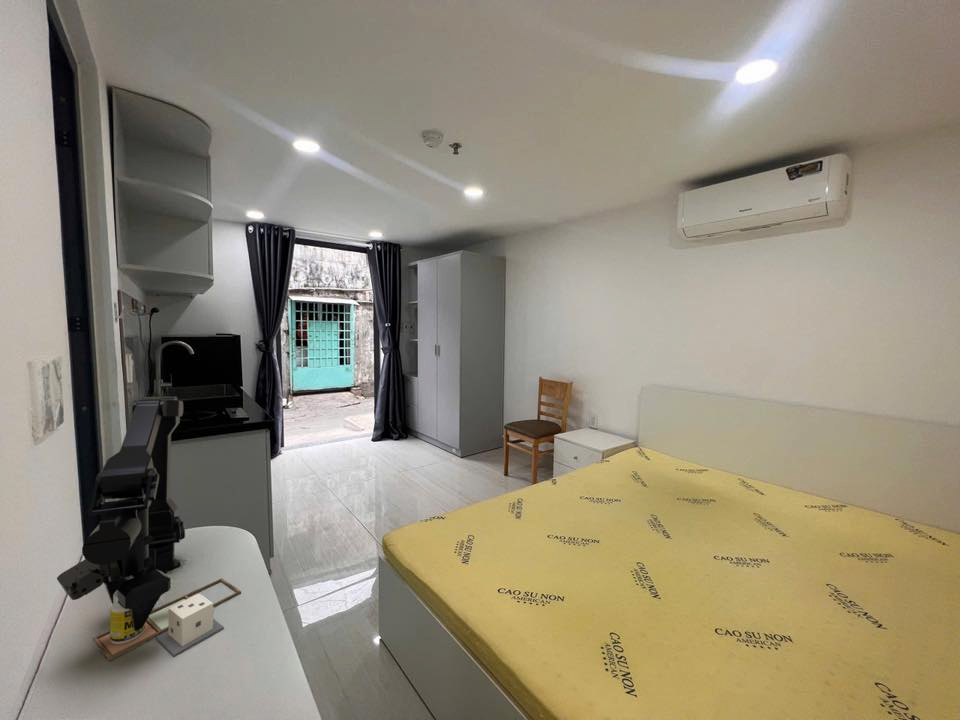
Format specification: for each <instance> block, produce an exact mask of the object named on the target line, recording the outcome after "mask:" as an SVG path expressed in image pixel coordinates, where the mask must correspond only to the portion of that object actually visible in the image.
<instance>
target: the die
mask: <svg viewBox="0 0 960 720" xmlns="http://www.w3.org/2000/svg"><path fill="white" fill-rule="evenodd" d="M213 604H214V602H213V601H212V600H209V599H208V598H206V597H205V596H204V595H202V594H201V593H196V594H194V595H192V596H190V597H189V598H188V599H186V600H184V601H182V602H180V603H178V604H176V605H174V606H172V607H170V608H169V635H170V636H171V637H172V638H173V639H174V640H176V641H177V642H178V643H179V644H180V645H181V646H184V645H186V644H187V643H189V642H191V641H193V640H194V639H196V638H198V637H200V636H201V635H203V634H205V633H207V632H208V631H210V630H212V629H213V619H214V608H213Z"/></svg>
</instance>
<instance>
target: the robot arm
mask: <svg viewBox="0 0 960 720" xmlns="http://www.w3.org/2000/svg"><path fill="white" fill-rule="evenodd" d="M183 414H184V402H183V400H180V399H178V397H177V396H144V397H141V398H139V399H135V400H133V401H131V408H130V421H129V424H128V427H127V430H126V432H125V435H124V438H123V441H122V443H121V444H122V445H121V446H120V449H119V451H118V452H117V453H115V454H114V455H112V456H110V457H109V458H108V459H107V460H105V464H104V465H103V468H102V469H101V472H99V473H98V474H97V475H96V477H95V480H94V485H93V490H92V494H91V498H90V504H89V506H88V513H87V515H88V517H92V516H97V515H98V516H99V515H100V519H99V520H100V521H99V523H98V525H97V526H96V527H95V528H94V530H93V531H92V532H91V533H90V534H89V536H88V537H87V538H86V539H85V541H84V543H83V545H82V549H81V553H82V556H83V558H84V560H81V561H80V562H78V563H77V564H75V565H73V566H71V567H70V568H68V569H66V570H65V571H63V572H62V573H60V574H59V575H58V576H57V577H56V580H57V582H58V583H59V585H60V586H61V588H62V589H63V590H64V592H65V593H66V594H67V595H68V597H69V598H70V599H71V600H72V601H76V600H79V599H81V598H83V597H84V596H87V595H88V594H90V593H92V592H93V591H95V590H97V588H99V587H101V586H102V585H103V584H104V586H105V589H106V592H107V595H108V597H109V600H110V602H111V605H112V604H113V595H114V593H115V592H116V591H117V597H118V600H119V601H118V603H119V604H120V605H121V606H122V607H123V608H124V609H129V611H130V615H131V620H132V624H133V627H134V630H135V631H137V630H139V629H141V628H143V626H144V624H145V623H147V622H146V621H147V619H148V617H149V615H150V613H151V612H152V610H154V609H155V606H156V604H157V603H158V602H159V600H160V598H161V596H162V595H164V594H166V593H167V592H169V591H170V590H171V585H172V584H171V577H169V576H168V574H166V572H167V571H168V572H169V571H170V570H173V569H175V568H178V567H180V566H181V565H182V562H181V561H179V560H178V559H176V558H175V555H176V554H175V546H176V545H175V544H177V543H180V542H181V541H182V540H183V539H185V538H186V527H185V523H184V521H183V520H182V519H183V518H182V516H181V515H179V508H178V507H179V506H178V505H177V504H176V503H175V502H174V501H173V499H172V498H171V496H170V494H171V493H170V492H171V452H172V451H171V450H172V449H171V448H172V447H171V446H172V433H173V432H174V431H175V429H176V428H177V427H178V426H179V424H180V421H181V417H183ZM102 498H103V499H104V501H103V502H101V500H102ZM107 500H113V501H107Z"/></svg>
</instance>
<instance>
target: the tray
mask: <svg viewBox="0 0 960 720" xmlns="http://www.w3.org/2000/svg"><path fill="white" fill-rule="evenodd" d="M219 583H221V584H223V585H225V586H226V587H227V588H229V589H230V590H232V591H233V592H234V593H232V594H230V595H228V596H226V597H224V598H222V599H220V600H218V601H217V602H213V609H214V608H216V607H218V606H219V605H221V604H223V603H225V602H227V601H229V600H232V599H233V598H235V597H237V596H239V595H241V594H242V591H241V590H240V589H238V588H237V587H235V586H234V585H233V584H231V583H230V582H228V581H226V579H224V578H220V579H217V580H215V581H213V582H209V584H206V585H204V586H202V587H200V588H198V589H195V590H193V591H191V592H189V593H187V594H184V595H181V596H180V597H178V598H175V599H174V600H172V601H169V602H167V603H165V604H163V605H160V606H159V607H156V608H153V610H152V612H151V613H150V615H149V617H148V619H147V621H146V623H145V630H144V632H143V633H142V634H141V635H140V636H139V637H138V638H136V639H134V640H132V641H130V642H127V643H124V644H114V643H112V642H111V640H110V629H108V630H107V631H104V632H103V633H99V634H98V635H95V636H94V637H92V642H93V643H94V644H95V645H96V646H97V648H98V649H99V650H100V651H101V653H103V655H104V656H105V658H107V660H108V662H110V661H112V660H114V659H116V658H118V657H120V656H122V655H124V654H126V653H127V652H130V651H131V650H133V649H135V648H137V647H140V646H141V645H144V644H145V643H147V642H149V641H151V640H154V639H156V637H157V636H159V635H161V634H163V633H165V632H167V631H169V608H170V607H172V606H174V605H176V604H178V603H180V602H182V601H184V600H186V599H188V598H190V597H192V596H195V595H197V594H199V593H200V592H202V591H204V590H207V589H209V588H211V587H213V586H215V585H217V584H219Z"/></svg>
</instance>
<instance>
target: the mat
mask: <svg viewBox="0 0 960 720" xmlns="http://www.w3.org/2000/svg"><path fill="white" fill-rule="evenodd" d="M224 629H225V627H224V626H223V624H221V623H219V622H218V621H217V620H216V619H215V618H213V629H212V630H210V631H208V632H207V633H205V634H203V635H201V636H200V637H198V638H196V639H194V640H193V641H191V642H189V643H187V644H186V645H184V646H181V645H180V644H179V643H178V642H177V641H176V640H174V639H173V638H172V637H171V636H170V635H169V631H167V632H165V633H163V634H161V635H159V636H157V637H155V640H156V641H157V642H158V643H159V644H160V645H161V646H162V647H163V648H164V650H166V651H167V652H168V653H169V654H170V655H171V656H172V657H173V658H174V657H177V656H178V655H180V654H182V653H183V652H185V651H188V650H190V648H192V647H195V646H196V645H198V644H199V643H202V642H203V641H204V640H207V639H208V638H209V639H210V637H212V636H213V635H214V636H215V635H216V634H217V633H219V632H221V631H223V630H224Z"/></svg>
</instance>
